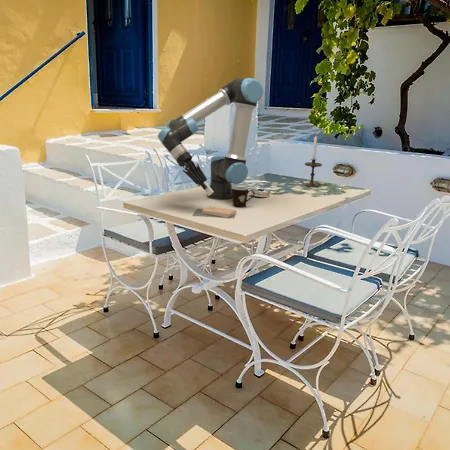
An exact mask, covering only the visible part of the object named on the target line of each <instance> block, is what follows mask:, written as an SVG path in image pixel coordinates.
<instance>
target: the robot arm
mask: <svg viewBox="0 0 450 450" xmlns="http://www.w3.org/2000/svg"><path fill="white" fill-rule="evenodd" d="M263 94H264V88H263V86H262V84H261V82H260V81H259V80H258V79H256V78H252V77H246V78H245V77H244V78H235V79H233V80H231V81H230V82H228V83H226V84H225V85H224V86H222V87H221V88H219V89H218V92H216V93H215V94H213V95H212V96H210V97H208V98H207V99H205V100H203V101H202V102H201V103H199V104H197V105H196V106H194V107H193V108H192V109H190V110H188V111H186V112H185V113H184V114H181V115H180V116H179V117H177V118H175V119H170V120H169V121H168V122H167V124H166V127H165V128H163V129H161V130H160V131H159V133H158V134H157V139H158V140H159V141H160V143H161V144H162V146H163V147H164V148H165V149H166V151H167V152H168V153H169V154H170V155H171V158H172V159H174V160H175V162H176V163H177V164H178V166H179V167H180V168H181V167H182V168H183V169H182V172H183V173H184V174H186V175H187V177H188V178H189V179H190V180H191V181H192V182H194V184H195V185H197V186H198V187H199V186H201V188H202V189H203V190H204V192H205V193H206V197H207V198H209V199H213V200H230V199H233V198H232V187H233V184H234V185H238V184H242V183H243V182H245V180H246V179H247V177H248V173H249V169H248V167H247V165H246V164H247V158H246V157H245V154H246V153H245V152H246V148H247V142H248V136H249V132H250V126H251V120H252V116H253V115H252V114H253V111H254V109H256V108H257V105H258V102H259V101H260V100H261V99H262V97H263ZM232 103H233V104H234V105H235V112H234V117H233V119H234V120H233V125H232V131H231V135H230V141H229V146H228V153H227V154H225V155H214V156H211V158H210V159H211V160H210V183H208V182H207V181H208V179H207V177H206V175H205V174H204V172H203V169H202V168H201V166H200V165H199V163H197V164H196V163H195V162H194V160H193V156H192V155H191V154H190V152H189V151H188V150H187V148H186V146H184V145H183V142H184V141H186V140H187V139H188V138H190V137H191V136H193V135H195V134H197V132H199V126H198V123H199V122H201V121H203V120H205V119H206V118H207V117H209V116H210V115H212V114H213V113H215V112H217V111H219V110H220V109H221V108H224V106H229V105H231V104H232Z"/></svg>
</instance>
